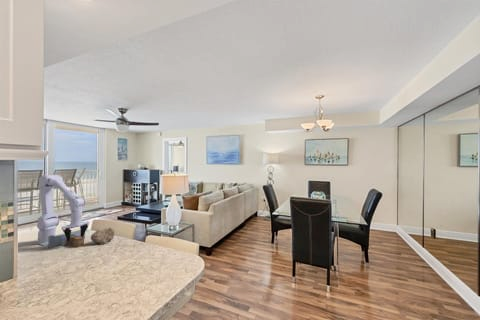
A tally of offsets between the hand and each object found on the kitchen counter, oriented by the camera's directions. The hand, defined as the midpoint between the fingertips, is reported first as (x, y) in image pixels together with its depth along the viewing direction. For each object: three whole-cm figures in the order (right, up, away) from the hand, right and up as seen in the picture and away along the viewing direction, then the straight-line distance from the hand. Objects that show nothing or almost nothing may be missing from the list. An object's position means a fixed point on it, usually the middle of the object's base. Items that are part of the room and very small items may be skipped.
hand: (75, 238), depth 133 cm
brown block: (0, -4, 0) cm, 4 cm away
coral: (+14, -5, +5) cm, 16 cm away
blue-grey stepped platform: (-7, -4, +3) cm, 8 cm away
